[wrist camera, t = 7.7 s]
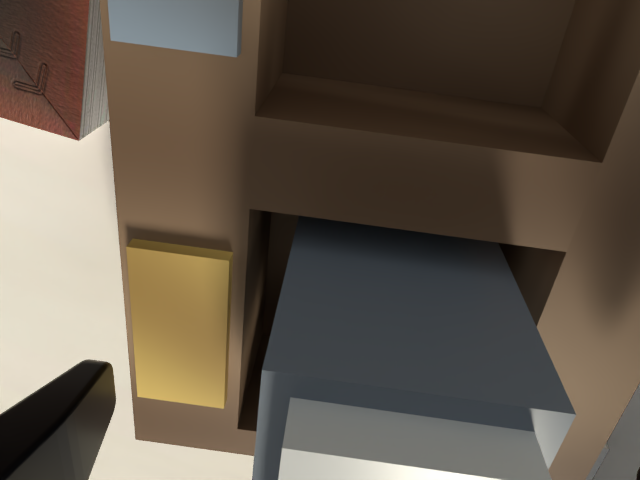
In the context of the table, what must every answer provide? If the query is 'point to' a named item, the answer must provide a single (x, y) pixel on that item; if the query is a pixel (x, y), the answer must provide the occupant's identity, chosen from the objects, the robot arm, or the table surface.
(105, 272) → the table surface
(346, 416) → the plug
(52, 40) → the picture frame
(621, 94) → the socket block
